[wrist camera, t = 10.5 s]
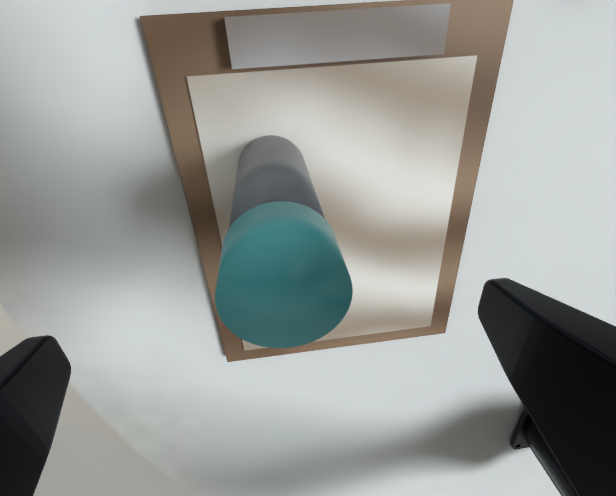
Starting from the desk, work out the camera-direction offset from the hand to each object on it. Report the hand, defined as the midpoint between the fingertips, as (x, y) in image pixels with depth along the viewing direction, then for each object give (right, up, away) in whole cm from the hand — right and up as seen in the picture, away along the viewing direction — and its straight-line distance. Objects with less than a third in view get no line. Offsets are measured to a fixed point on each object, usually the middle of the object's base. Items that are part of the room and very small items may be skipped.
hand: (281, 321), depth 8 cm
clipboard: (+2, +3, +11) cm, 12 cm away
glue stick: (-1, +5, +8) cm, 10 cm away
